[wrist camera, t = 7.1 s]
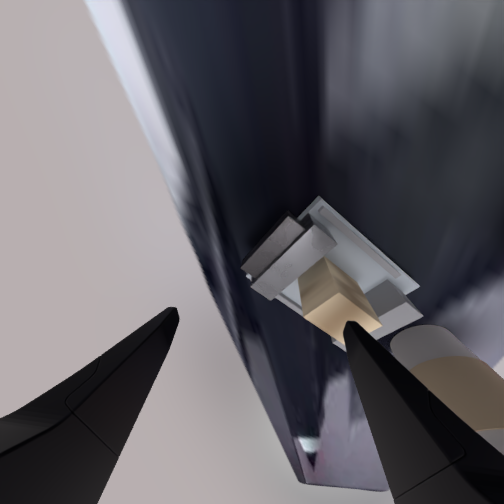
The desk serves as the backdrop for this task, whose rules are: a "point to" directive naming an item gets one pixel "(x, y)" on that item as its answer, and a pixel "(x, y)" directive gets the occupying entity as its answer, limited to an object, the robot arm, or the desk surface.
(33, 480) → the robot arm
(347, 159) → the desk surface
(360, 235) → the vise bed
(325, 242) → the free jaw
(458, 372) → the coffee cup
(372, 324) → the maple block
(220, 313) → the desk surface
